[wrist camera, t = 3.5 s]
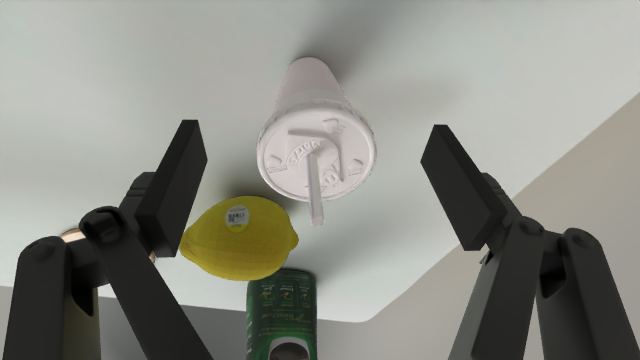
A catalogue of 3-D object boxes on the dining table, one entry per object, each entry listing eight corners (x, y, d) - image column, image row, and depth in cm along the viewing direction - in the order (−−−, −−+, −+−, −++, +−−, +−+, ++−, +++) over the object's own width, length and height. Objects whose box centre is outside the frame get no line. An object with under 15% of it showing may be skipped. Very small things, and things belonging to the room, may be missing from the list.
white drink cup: (318, 16, 20) (351, 139, 9) (365, 89, 23) (425, 233, 13) (247, 73, 22) (211, 223, 12) (300, 131, 26) (309, 282, 15)
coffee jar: (244, 291, 44) (224, 463, 30) (253, 263, 39) (235, 454, 25) (306, 296, 47) (314, 457, 33) (322, 270, 42) (339, 447, 28)
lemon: (305, 188, 30) (309, 256, 24) (289, 233, 35) (289, 299, 29) (193, 170, 28) (167, 242, 22) (192, 222, 33) (171, 292, 27)
